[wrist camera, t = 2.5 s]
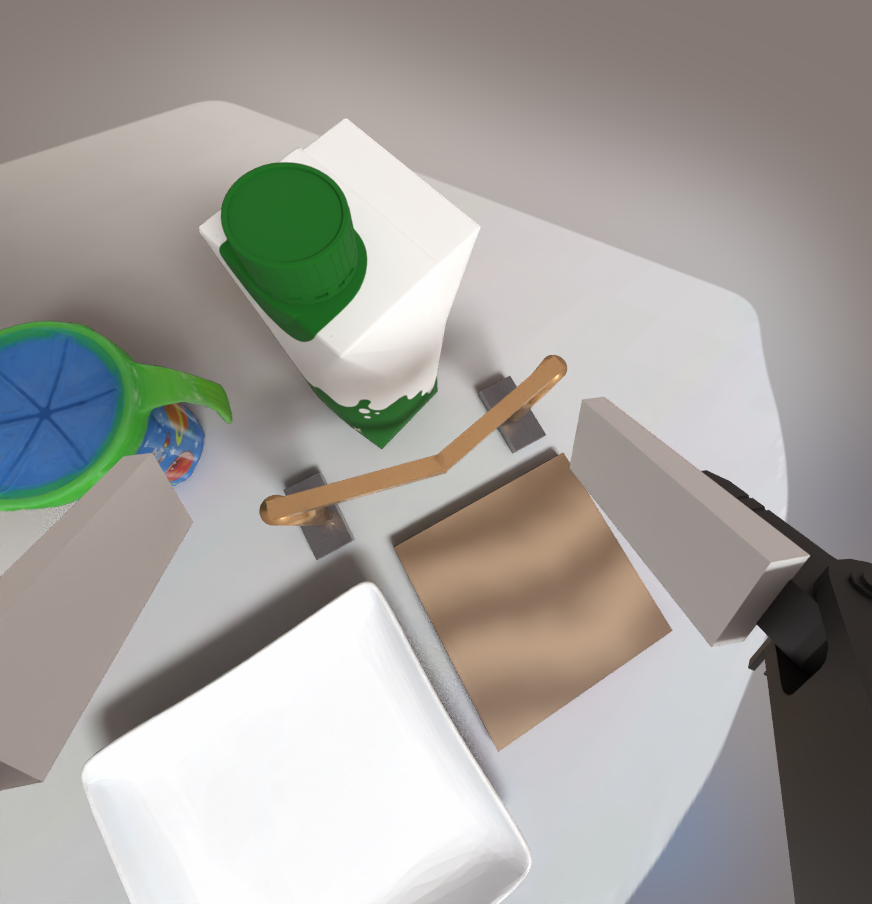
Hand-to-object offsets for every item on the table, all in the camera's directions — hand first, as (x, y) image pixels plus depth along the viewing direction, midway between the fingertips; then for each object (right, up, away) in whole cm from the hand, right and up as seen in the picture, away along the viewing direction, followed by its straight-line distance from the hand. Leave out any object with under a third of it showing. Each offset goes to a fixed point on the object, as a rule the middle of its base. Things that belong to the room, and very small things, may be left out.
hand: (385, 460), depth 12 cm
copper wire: (0, -1, +19) cm, 19 cm away
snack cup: (-21, +1, +18) cm, 27 cm away
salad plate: (-6, -23, +14) cm, 28 cm away
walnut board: (+9, -11, +17) cm, 22 cm away
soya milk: (-3, +5, +20) cm, 21 cm away
